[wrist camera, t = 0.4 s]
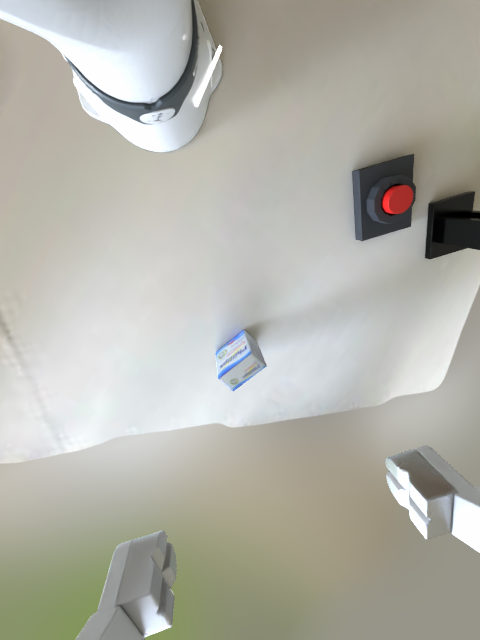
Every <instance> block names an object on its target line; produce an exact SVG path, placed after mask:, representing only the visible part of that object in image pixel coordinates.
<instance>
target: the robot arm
mask: <svg viewBox="0 0 480 640" xmlns="http://www.w3.org/2000/svg"><path fill="white" fill-rule="evenodd" d="M0 19H3V20H5V21H7V22H10V23H12V24H15V25H17V26H20V27H22V28H24V29H26V30H29V31H31V32H33V33H35V34H37V35H39V36H41V37H43V38H45V39H47V40H48V41H49V42H50V43H52V44H53V45H54V46H55V47H56V48H57V49H58V50H59V51H60V52H62V55H63V57H64V58H65V60H66V61H68V63H69V64H70V66H71V67H72V71H73V75H74V79H73V82H74V84H75V86H76V88H77V90H78V94H79V98H80V102H81V105H82V107H83V108H84V110H85V111H86V112H87V113H88V114H89V115H90V116H92V117H94V118H96V119H98V120H100V121H103V122H105V123H108V124H110V125H111V126H113V127H114V128H115V129H116V130H117V131H118V132H119V133H121V134H122V135H123V136H124V137H125V138H126V139H127V140H129V141H130V142H132V143H133V144H135V145H137V146H139V147H141V148H143V149H146V150H150V151H155V152H168V151H173V150H176V149H178V148H180V147H182V146H184V145H185V144H187V143H188V142H189V141H190V140H191V139H192V138H193V137H194V136H195V135H196V134H197V132H198V131H199V129H200V127H201V125H202V123H203V121H204V118H205V115H206V111H207V107H208V102H209V99H210V96H211V94H212V92H213V91H214V90H215V88H216V87H217V85H218V84H219V82H220V80H221V78H222V74H223V68H222V63H221V60H220V57H219V55H220V53H221V50H222V46H220V45H219V47H218V50H217V49H216V47H215V44H214V41H213V39H212V36H211V33H210V31H209V28H208V25H207V23H206V20H205V17H204V15H203V12H202V10H201V7H200V4H199V2H198V0H0ZM386 466H387V468H388V469H389V471H388V473H387V482H388V485H389V487H390V489H391V491H392V493H393V495H394V496H395V498H396V499H397V501H398V502H399V503H400V504H401V505H402V506H404V507H406V508H408V509H409V512H410V518H411V520H412V521H413V522H414V524H415V525H416V526H417V528H418V529H419V531H420V532H421V533H422V535H423V536H424V537H425V539H426V540H427V539H431V538H434V537H437V536H441V535H444V534H447V533H451V532H452V534H453V535H454V536H456V537H457V538H459V539H460V540H462V541H463V542H465V543H466V544H468V545H469V546H471V547H472V548H473V549H475V550H476V551H478V552H479V553H480V486H476V487H474V486H473V485H471V484H470V483H469V482H468V481H467V480H466V479H465V478H464V477H463V476H462V475H461V474H459V473H458V472H457V471H456V470H455V469H454V468H453V467H452V466H451V465H450V464H448V463H447V462H446V461H445V460H444V459H443V458H442V457H441V456H440V455H438V454H437V452H435V451H434V450H433V449H432V448H431V447H429V446H422V447H419V448H416V449H413V450H409V451H406V452H404V453H400V454H397V455H394V456H391V457H388V458H387V459H386ZM176 570H177V564H176V554H175V550H174V547H173V546H172V544H170V543H168V542H167V535H166V533H165V532H164V530H163V531H160V532H156V533H153V534H150V535H147V536H143V537H140V538H137V539H133V540H130V541H127V542H124V543H121V544H118V546H117V548H116V549H115V551H114V554H113V558H112V561H111V565H110V568H109V572H108V575H107V579H106V583H105V586H104V589H103V593H102V597H101V600H100V603H99V607H98V610H97V613H95V614H92V615H91V617H90V618H89V620H88V621H87V623H86V625H85V626H84V627H83V629H82V630H81V632H80V634H79V635H78V637H77V638H76V640H145V638H144V637H146V636H149V635H151V634H154V633H156V632H159V631H162V630H164V629H167V628H170V627H172V621H173V609H174V595H173V593H172V591H171V587H172V585H173V583H174V581H175V579H176Z"/></svg>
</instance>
